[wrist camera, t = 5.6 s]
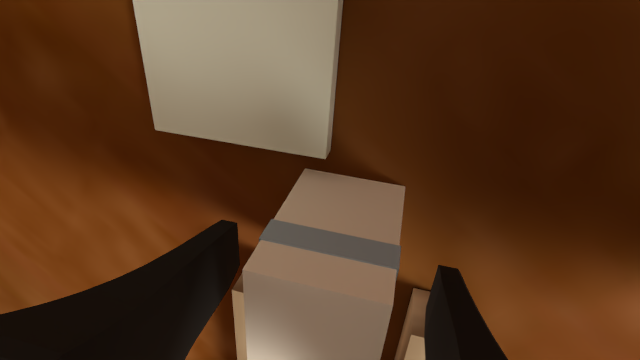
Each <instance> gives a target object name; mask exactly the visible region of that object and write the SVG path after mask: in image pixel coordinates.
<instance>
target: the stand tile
mask: <svg viewBox="0 0 640 360" xmlns="http://www.w3.org/2000/svg"><path fill="white" fill-rule="evenodd" d="M133 6H134V12H135V17H136V23H137V29H138V35H139V40H140V46H141V52H142V58H143V63H144V69H145V75H146V81H147V87H148V92H149V98H150V104H151V110H152V115H153V121H154V127H155V130H158V131H164V132H170V133H175V134H181V135H187V136H193V137H199V138H205V139H210V140H216V141H222V142H228V143H234V144H239V145H245V146H251V147H257V148H263V149H269V150H274V151H280V152H286V153H292V154H298V155H304V156H309V157H315V158H321V159H326V158H327V156H328V154H329V152H330V150H331V138H332V126H333V115H334V103H335V91H336V80H337V68H338V56H339V44H340V33H341V21H342V9H343V0H133Z"/></svg>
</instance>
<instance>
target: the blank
mask: <svg viewBox="0 0 640 360" xmlns="http://www.w3.org/2000/svg"><path fill="white" fill-rule="evenodd" d="M404 195H405V186H401V185H395V184H389V183H384V182H378V181H373V180H367V179H362V178H356V177H351V176H345V175H339V174H334V173H328V172H323V171H317V170H312V169H306V168H305V169H304V171H303V172H302V174H301V176H300V177H299V179H298V180H297V182H296V184H295V185H294V187H293V188H292V190H291V192H290V193H289V195H288V197H287V198H286V200H285V201H284V203H283V205H282V206H281V208H280V210H279V211H278V213H277V214H276V216H275V218H274V219H271V220H270V222H269V223H268V225H267V226H266V228H265V230H264V231H263V233H262V234H261V236H260V238H259V243H258V245H257V247H256V248H255V250H254V252H253V253H252V255H251V256H250V258H249V260H248V261H247V263H246V265H245V266H244V268H243V269H242V274H243V292H244V310H245V328H246V346H247V360H380V359H381V355H382V350H383V346H384V342H385V338H386V333H387V329H388V325H389V321H390V317H391V312H392V308H393V302H394V292H395V284H396V279H397V275H398V271H399V263H400V252H401V246H399V244H400V234H401V224H402V214H403V205H404Z"/></svg>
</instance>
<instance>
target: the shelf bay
mask: <svg viewBox="0 0 640 360" xmlns="http://www.w3.org/2000/svg"><path fill="white" fill-rule="evenodd" d="M429 295H430V292H429V291H425V290H420V289H416V288H413V291H412V295H411V299H410V303H409V306H408V310H407V314H406V318H405V322H404V325H403V329H402V333H401V337H400V340H399V344H398V348H397V352H396V356H395V359H394V360H425V343H424V330H425V313H426V305H427V302H428V299H429ZM232 300H233V312H234V325H235V337H236V350H237V360H247V346H246V328H245V310H244V292H243V274H241V276H240V277H239V279H238V280H237V282H236V284H235V285H234V287H233V289H232Z"/></svg>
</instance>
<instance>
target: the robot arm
mask: <svg viewBox="0 0 640 360" xmlns="http://www.w3.org/2000/svg"><path fill="white" fill-rule="evenodd" d="M239 265H240V261H239V245H238V229H237V223H235V222H230V221H226V220H221V221H219V222H217V223H215V224H214V225H212V226H211V227H209V228H207V229H206V230H204V231H203V232H201V233H199V234H198V235H196V236H195V237H193V238H191V239H190V240H188V241H186V242H185V243H183V244H182V245H180V246H178V247H177V248H175V249H173V250H171V251H170V252H168V253H166V254H164V255H162V256H161V257H159V258H157V259H155V260H153V261H151V262H150V263H148V264H146V265H144V266H142V267H140V268H138V269H136V270H134V271H131V272H129V273H127V274H125V275H123V276H120V277H118V278H116V279H113V280H111V281H108V282H106V283H103V284H100V285H98V286H95V287H93V288H90V289H88V290H85V291H82V292H79V293H76V294H73V295H70V296H67V297H64V298H61V299H57V300H54V301H51V302H48V303H44V304H40V305H37V306H33V307H29V308H25V309H21V310H17V311H13V312H9V313H5V314H0V360H185V358H186V356H187V354H188V352H189V351H190V349H191V347H192V346H193V344H194V342H195V340H196V339H197V337H198V336H199V334H200V333H201V331H202V330H203V328H204V326H205V325H206V323H207V322H208V320H209V319H210V317H211V316H212V314H213V312H214V311H215V309H216V308H217V306H218V305H219V303H220V302H221V300H222V298H223V297H224V295H225V294H226V292H227V290H228V289H229V287H230V285H231V283H232V281H233V279H234V276H235V274H236V272H237V270H238V268H239ZM424 343H425V360H508V359H507V357H506V356H505V354H504V353H503V351H502V350H501V348H500V346H499V345H498V343H497V342H496V340H495V339H494V337H493V335H492V334H491V332H490V330H489V328H488V327H487V325H486V323H485V321H484V320H483V318H482V316H481V314H480V312H479V311H478V309H477V307H476V305H475V303H474V301H473V299H472V297H471V295H470V293H469V291H468V289H467V287H466V284H465V282H464V280H463V278H462V276H461V273H460V272H459V270H458V269H456V268H451V267H446V266H441V265H438V269H437V272H436V275H435V279H434V282H433V285H432V289H431V292H430V295H429V299H428V302H427V305H426V313H425V330H424Z"/></svg>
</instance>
